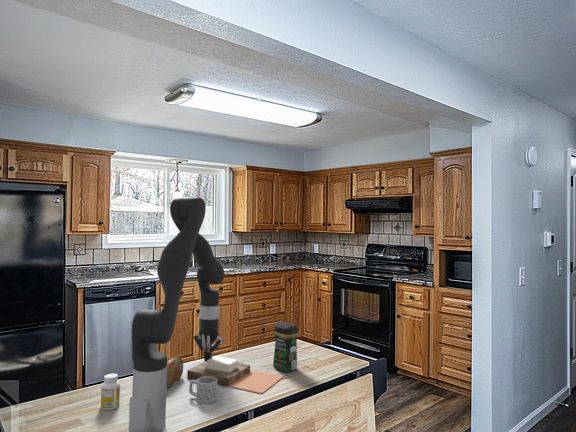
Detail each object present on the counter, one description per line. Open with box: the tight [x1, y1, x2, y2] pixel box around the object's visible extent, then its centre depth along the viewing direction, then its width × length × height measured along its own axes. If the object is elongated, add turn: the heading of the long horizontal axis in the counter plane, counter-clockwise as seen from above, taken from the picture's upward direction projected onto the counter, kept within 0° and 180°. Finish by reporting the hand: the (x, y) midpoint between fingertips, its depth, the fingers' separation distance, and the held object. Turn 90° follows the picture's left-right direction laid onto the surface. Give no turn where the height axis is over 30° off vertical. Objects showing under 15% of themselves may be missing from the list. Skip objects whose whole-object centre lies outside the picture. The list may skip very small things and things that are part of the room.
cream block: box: [207, 355, 239, 373], centre depth 164 cm, size 6×10×3 cm, turn 66°
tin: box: [166, 356, 184, 389], centre depth 155 cm, size 15×3×8 cm, turn 168°
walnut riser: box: [186, 361, 251, 388], centre depth 164 cm, size 16×18×3 cm
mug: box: [188, 376, 218, 405], centre depth 142 cm, size 10×7×7 cm
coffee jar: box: [272, 320, 299, 373], centre depth 174 cm, size 10×8×19 cm
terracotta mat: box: [227, 370, 285, 395], centre depth 158 cm, size 18×14×1 cm
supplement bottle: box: [100, 373, 121, 411], centre depth 134 cm, size 5×5×10 cm
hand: (207, 361), depth 166 cm, fingers closed
